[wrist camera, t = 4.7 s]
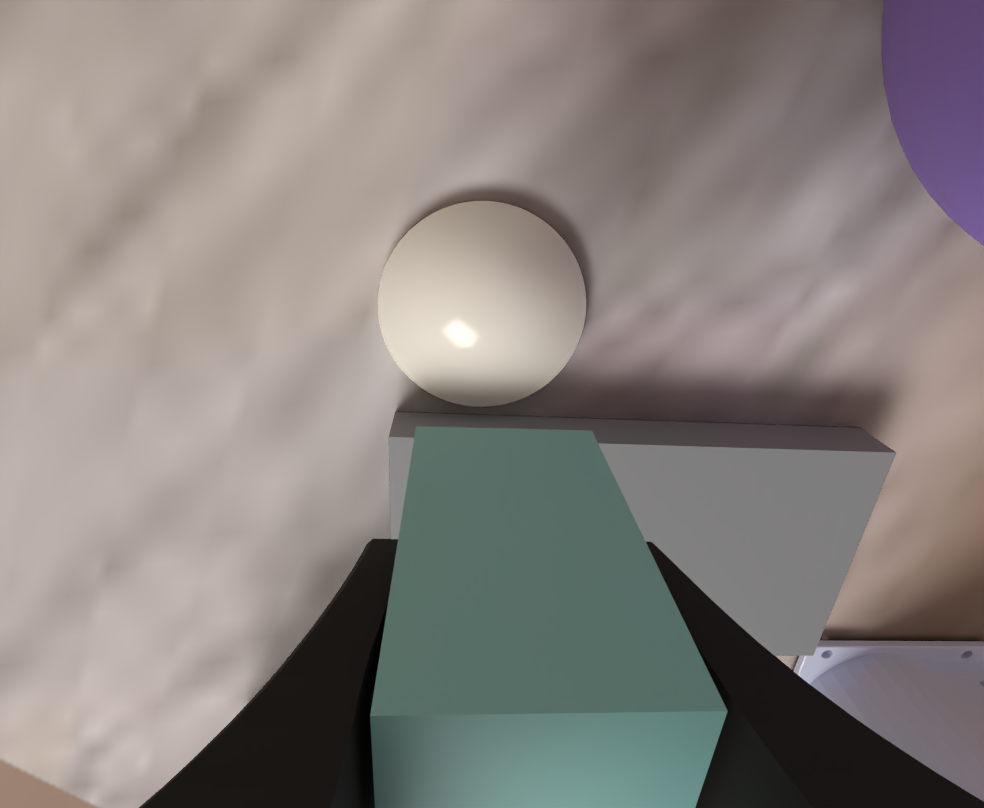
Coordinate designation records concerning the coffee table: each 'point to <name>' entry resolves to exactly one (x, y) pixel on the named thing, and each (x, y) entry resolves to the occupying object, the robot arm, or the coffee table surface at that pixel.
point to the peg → (532, 638)
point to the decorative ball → (939, 99)
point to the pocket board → (725, 506)
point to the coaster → (481, 303)
